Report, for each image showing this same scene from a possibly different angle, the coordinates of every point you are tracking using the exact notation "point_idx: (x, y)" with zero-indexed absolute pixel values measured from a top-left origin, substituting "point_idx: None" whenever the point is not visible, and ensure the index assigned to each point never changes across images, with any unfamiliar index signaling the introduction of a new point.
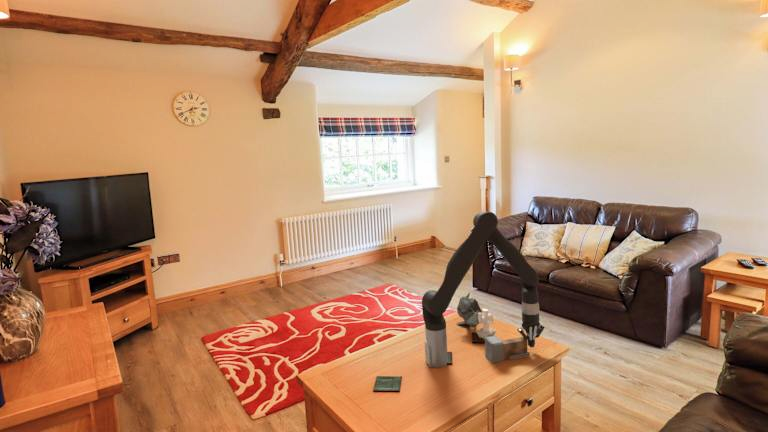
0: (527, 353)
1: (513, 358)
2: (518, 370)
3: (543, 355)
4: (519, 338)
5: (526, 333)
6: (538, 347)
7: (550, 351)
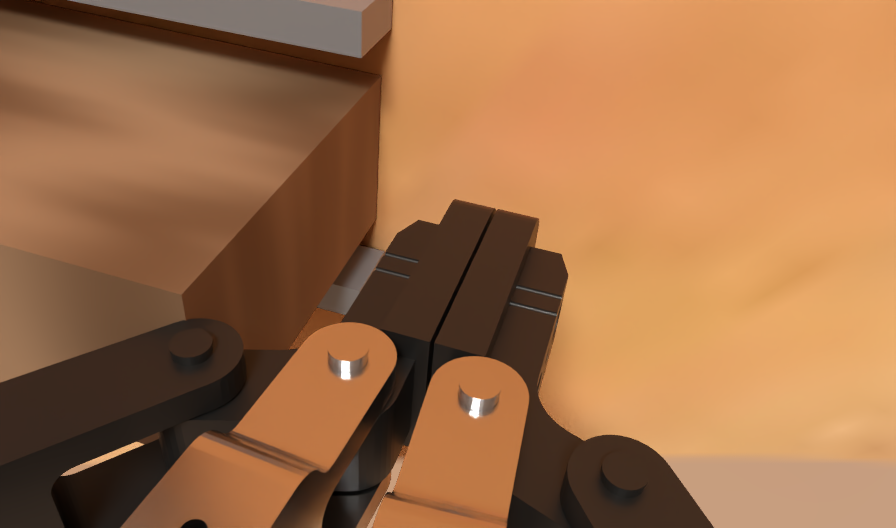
0: None
1: None
2: None
3: (618, 388)
4: (31, 296)
5: (220, 446)
6: (839, 122)
7: (883, 379)
